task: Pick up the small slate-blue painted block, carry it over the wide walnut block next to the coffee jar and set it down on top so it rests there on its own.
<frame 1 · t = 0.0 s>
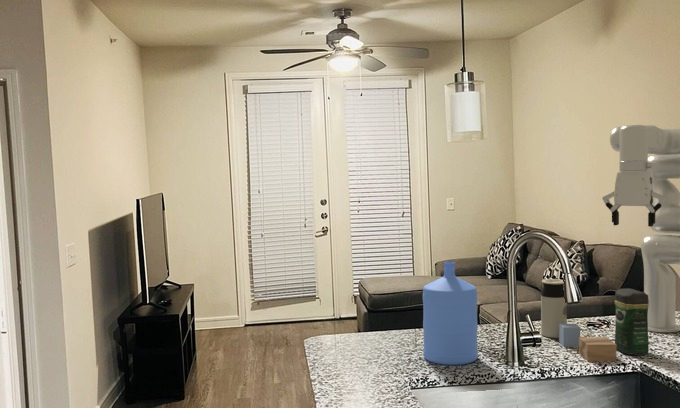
hand: (633, 225, 194), 37 cm above the worktop, tool pointing down, fingers open, 9 cm apart
coffee jar: (631, 352, 195), on the worktop
water jug: (450, 358, 192), on the worktop
walnut block: (597, 358, 190), on the worktop
blue block: (569, 344, 204), on the worktop
travel mug: (554, 336, 215), on the worktop
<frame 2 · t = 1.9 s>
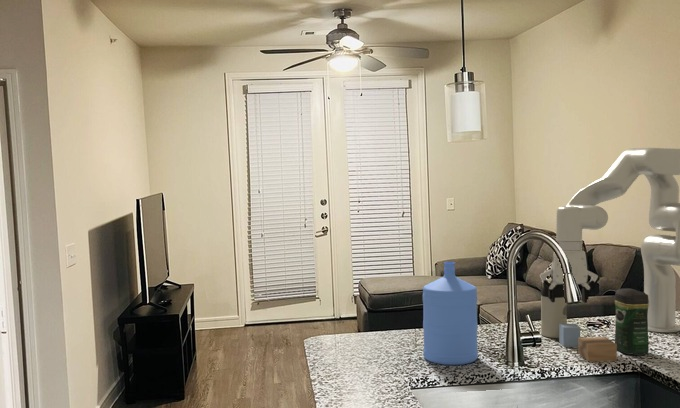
hand: (568, 301, 203), 13 cm above the worktop, tool pointing down, fingers open, 9 cm apart
nothing on the worktop moved.
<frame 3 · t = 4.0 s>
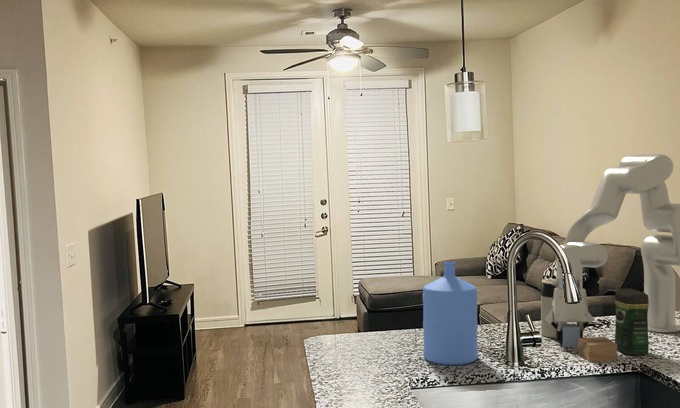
hand: (569, 342, 204), 1 cm above the worktop, tool pointing down, fingers closed on blue block, 5 cm apart
blue block: (569, 344, 204), on the worktop, touching gripper
everything else where it was.
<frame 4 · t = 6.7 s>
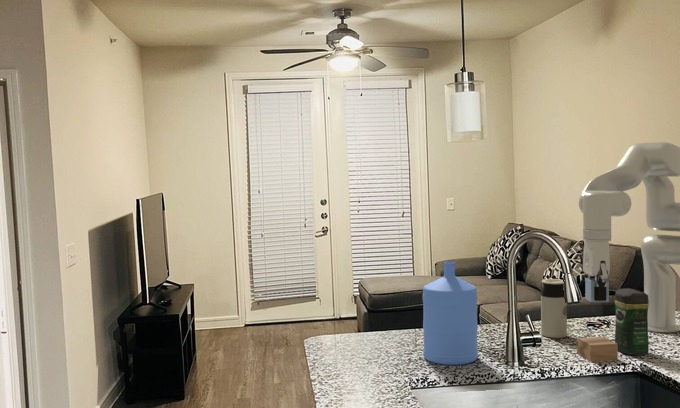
hand: (597, 297, 189), 17 cm above the worktop, tool pointing down, fingers closed on blue block, 5 cm apart
blue block: (596, 300, 189), point 17 cm above the worktop, touching gripper
everything else where it was.
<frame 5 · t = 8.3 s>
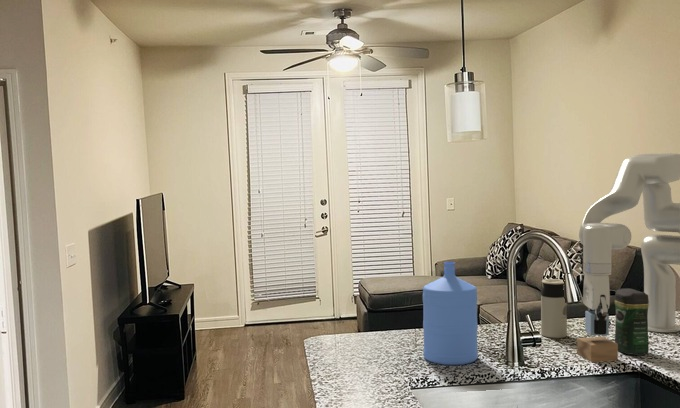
hand: (597, 330, 190), 8 cm above the worktop, tool pointing down, fingers closed on blue block, 5 cm apart
blue block: (596, 333, 190), point 7 cm above the worktop, touching gripper
everything else where it was.
when the fingers open (7 cm above the worktop, at t = 9.4 s): blue block drops 1 cm, resting on walnut block.
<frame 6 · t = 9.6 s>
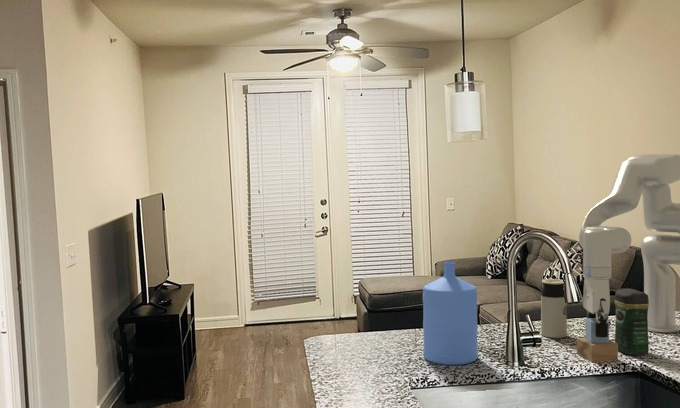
hand: (597, 333, 190), 7 cm above the worktop, tool pointing down, fingers open, 7 cm apart
walnut block: (597, 358, 190), on the worktop, touching blue block
blue block: (597, 340, 190), point 5 cm above the worktop, touching walnut block
everything else where it was.
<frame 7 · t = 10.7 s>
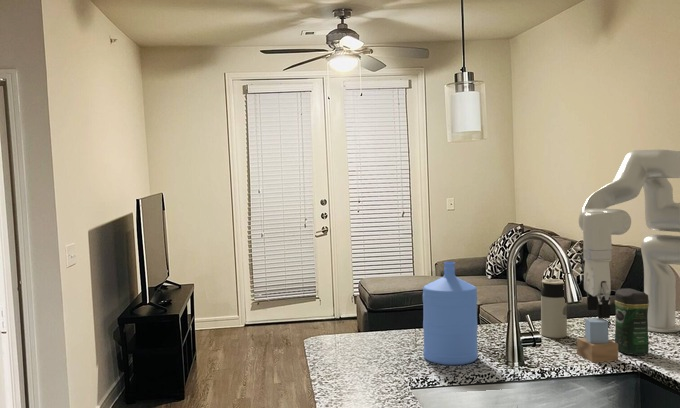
hand: (598, 313, 190), 13 cm above the worktop, tool pointing down, fingers open, 9 cm apart
nothing on the worktop moved.
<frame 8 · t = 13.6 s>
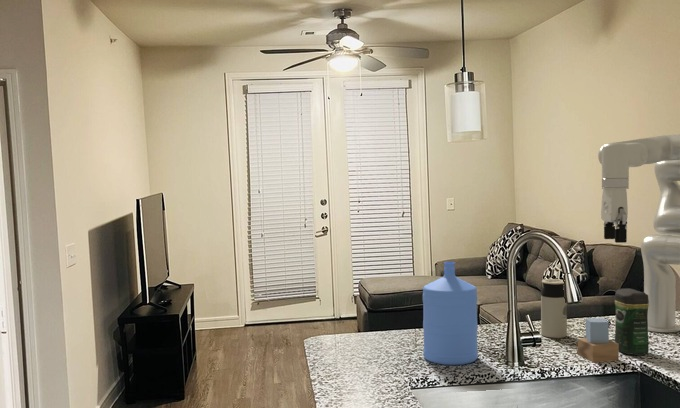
hand: (615, 240, 200), 32 cm above the worktop, tool pointing down, fingers open, 9 cm apart
nothing on the worktop moved.
at the end: blue block 0.3 cm off-centre on the walnut block, point 5.0 cm above the walnut block's base; blue block tilted 0°; the gripper is holding nothing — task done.
